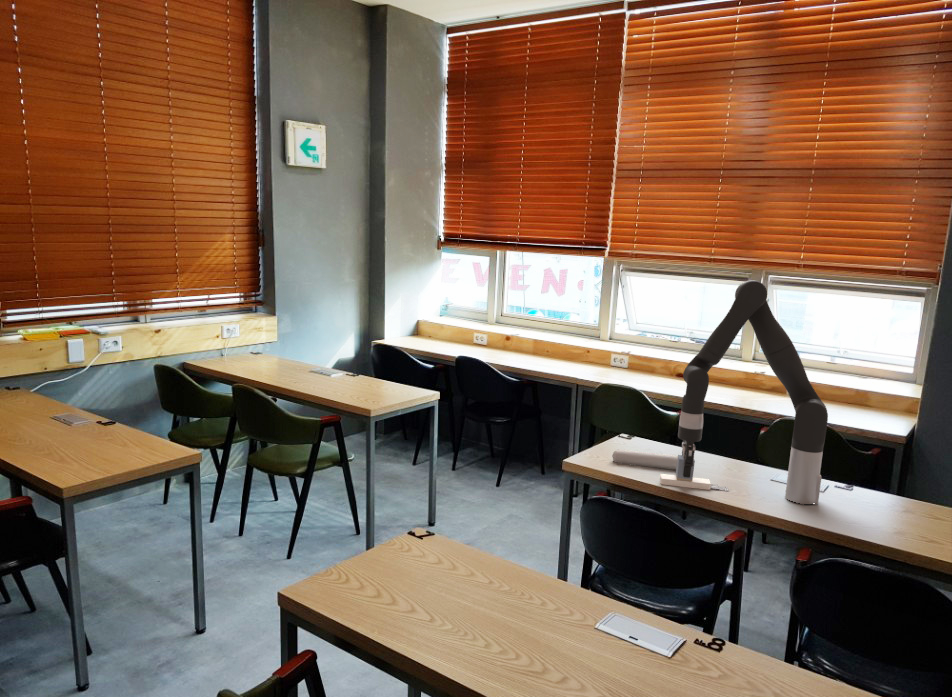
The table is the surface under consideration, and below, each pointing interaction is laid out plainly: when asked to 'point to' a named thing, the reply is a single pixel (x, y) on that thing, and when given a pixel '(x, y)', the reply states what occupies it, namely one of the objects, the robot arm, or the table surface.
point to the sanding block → (681, 469)
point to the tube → (645, 459)
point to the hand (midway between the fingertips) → (685, 474)
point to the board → (685, 482)
